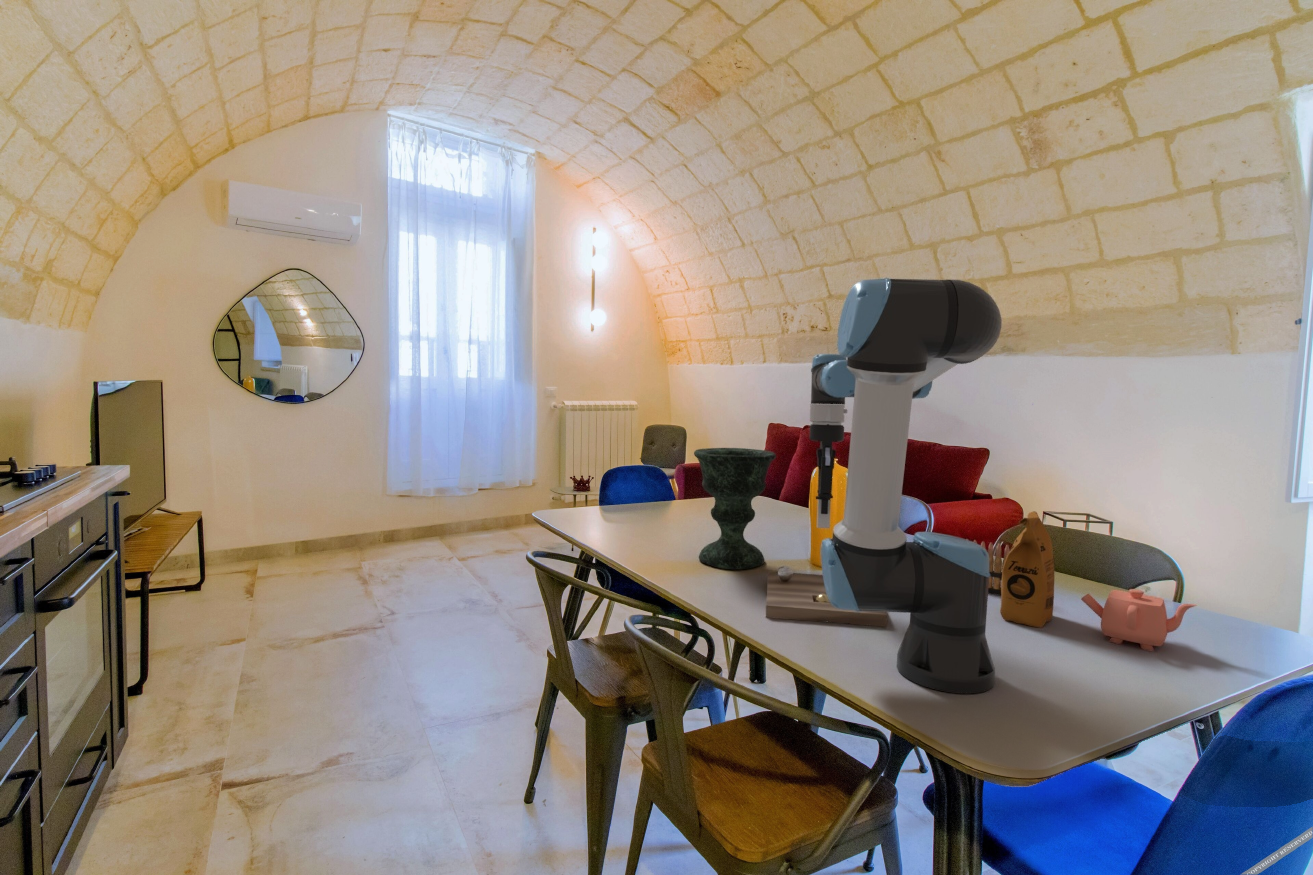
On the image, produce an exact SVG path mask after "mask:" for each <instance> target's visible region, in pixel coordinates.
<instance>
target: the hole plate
mask: <svg viewBox="0 0 1313 875" xmlns="http://www.w3.org/2000/svg"><path fill="white" fill-rule="evenodd" d="M766 585H767V586H766V603H765V604H766V605H765V618H774V619H783V620H784V619H785V620H797V621H798V620H799V621H807V620H808V622H809V621H810V622H820V621H828V622H827V623H832V622H839V623H838V624H844V623H850V624H849V625H858V626H872V627H882V628H883V627H885V628H887V627H888V612H875V611H859V612H856V611H855V610H843V609H837V608H835V607H834V606H833V605H832V604H831V603H823V602H815V599H816V597H817V596H818V595H819V594H826V590H825V585H824V580H823V574H814V573H812V574H811V573H799V572H797V573H796V572H793V576H792V578H791V579H790V580H788V581H783V580H781V579H780V578H779V577H778V571H771V570H770V571H769V570H768V571H767V583H766ZM826 595H827V594H826Z"/></svg>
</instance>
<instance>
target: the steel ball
mask: <svg viewBox="0 0 1313 875" xmlns="http://www.w3.org/2000/svg"><path fill="white" fill-rule="evenodd" d="M777 572H778V577H779V578H780V579H781V580H783V581H788V580H790V579H791V578H792V576H793V573H794V572H793V569H792V568H791V567H790V566H788V565H781V566H780V567H779V568H778V569H777Z"/></svg>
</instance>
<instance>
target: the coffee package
mask: <svg viewBox="0 0 1313 875" xmlns="http://www.w3.org/2000/svg"><path fill="white" fill-rule="evenodd" d="M1018 524H1020V525H1022V526H1025V528H1024V529H1023V530H1022V532H1021V533H1019V535H1018V536H1017V537H1016V538H1015V540H1014V542H1013V544H1012V546H1011V548H1009V550H1010V551H1009V553H1008V555H1007V557H1006V560H1005V562H1004V566H1003V572H1002V571H1001V572H1002V580H1001V595H1000V596H1001V597H1000V601H1001V602H1000V609H999V610H1000V611H999V612H1000V615H1001V618H1002V619H1003V620H1004V621H1007V622H1009V621H1011V622H1012V623H1013V622H1014V623H1015V624H1019V625H1020V624H1021V625H1026V626H1028V627H1034V628H1039V629H1041V628H1043V627H1044V625H1045V624H1046V623H1048V622H1050V621H1052V618H1053V614H1054V602H1055V601H1054V600H1055V564H1054V562H1055V561H1054V550H1053V549H1054V548H1053V542H1052V538H1051V536H1050V534H1049V532H1048V530H1047V528H1046V527H1045V525H1044V523H1043V522H1042V520H1041V518H1040V516H1039V514H1038V512H1037V511H1030V512H1029V513H1028V514H1027V517H1023V518H1022V519H1021V520H1020V521H1019V522H1018Z"/></svg>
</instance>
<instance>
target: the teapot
mask: <svg viewBox="0 0 1313 875" xmlns="http://www.w3.org/2000/svg"><path fill="white" fill-rule="evenodd" d="M1107 596H1108V597H1107V599H1106V601H1105V604H1104V606H1102V605H1101V604H1100V603H1099V602H1098V601H1097V600H1096V599H1095V598H1094V597H1093V596H1092V595H1091V594H1090V593H1087V594H1085V595H1084V596H1083V597H1081V599H1080V600H1082V602H1083V603H1084V604H1086V606H1087V607H1088V608H1089V609H1090V610H1091V611H1092V612H1094V614H1096V615H1097V617H1098V618H1100V621H1101V622H1100V629H1101V632H1102V635H1104V636H1106V637H1107V636H1108V637H1110V639H1109V642H1111V643H1113V644H1116V645H1122V644H1123V642H1124V641H1127V642H1131V643H1137V644H1139V646H1140V649H1142V650H1145V651H1150V652H1153V651H1155V650H1154V647H1162V646H1163V645H1164V643H1165V641H1166V640H1167V636H1168V633H1172V632H1174V631H1176V630H1177V629H1178V628H1180V626H1181V624H1182V622H1183V618H1184V616H1185V614H1186V612H1187V611H1188V610H1189V609H1192V608H1194V607H1197V606H1198V604H1194V603H1193V604H1192V603H1183V604H1181V605H1179V606H1178V607H1177V609H1176V612H1175V614H1174V615H1173V616H1172V617H1170V618H1168V615H1167V614H1168V613H1167V609H1166V604H1165V599H1164V598H1162V597H1157V596H1153V595H1148V594H1145V592H1144V591H1143V590H1140V589H1134V588H1130V589H1129V591H1125V590H1119V589H1118V590H1117V589H1112V590H1111V591H1110V592H1109V594H1108V595H1107Z"/></svg>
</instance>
